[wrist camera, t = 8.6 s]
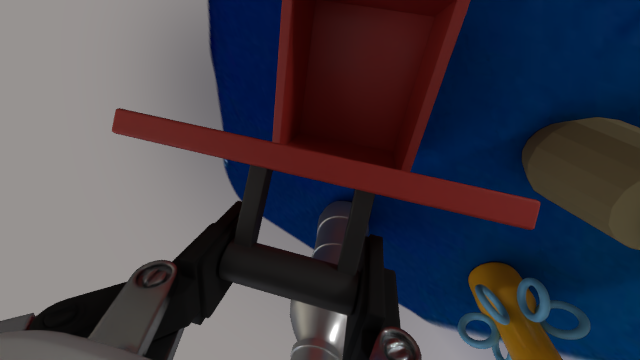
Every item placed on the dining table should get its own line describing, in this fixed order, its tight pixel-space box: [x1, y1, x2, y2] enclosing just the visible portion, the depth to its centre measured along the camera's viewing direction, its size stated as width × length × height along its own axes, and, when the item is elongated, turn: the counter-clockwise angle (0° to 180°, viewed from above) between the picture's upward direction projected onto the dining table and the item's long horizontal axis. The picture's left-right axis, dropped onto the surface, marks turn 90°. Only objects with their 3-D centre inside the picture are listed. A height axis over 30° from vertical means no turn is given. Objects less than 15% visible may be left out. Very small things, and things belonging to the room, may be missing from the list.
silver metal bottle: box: [290, 201, 369, 360], centre depth 25 cm, size 6×7×20 cm
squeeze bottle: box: [522, 117, 640, 250], centre depth 17 cm, size 8×8×18 cm
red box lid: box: [112, 108, 540, 316], centre depth 15 cm, size 15×13×5 cm
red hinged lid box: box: [272, 0, 470, 172], centre depth 23 cm, size 15×13×8 cm
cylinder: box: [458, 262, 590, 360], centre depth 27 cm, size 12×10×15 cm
